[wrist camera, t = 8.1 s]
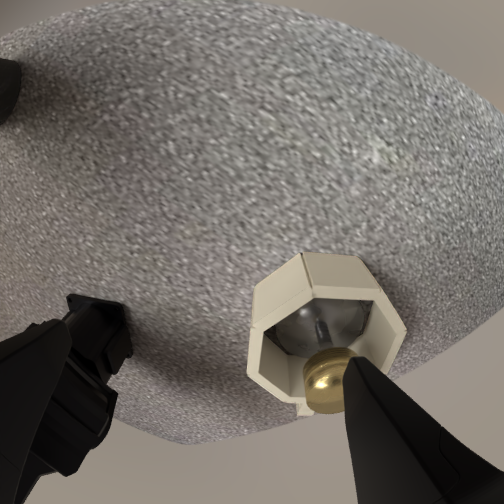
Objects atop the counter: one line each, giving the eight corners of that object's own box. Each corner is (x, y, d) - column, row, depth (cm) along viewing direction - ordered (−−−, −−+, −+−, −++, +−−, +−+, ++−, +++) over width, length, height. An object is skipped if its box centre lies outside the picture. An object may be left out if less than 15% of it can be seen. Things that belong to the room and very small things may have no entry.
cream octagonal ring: (245, 377, 25) (242, 417, 20) (257, 247, 20) (254, 280, 15) (352, 379, 25) (362, 416, 20) (394, 259, 20) (422, 290, 15)
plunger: (270, 350, 23) (271, 426, 15) (281, 278, 20) (288, 352, 13) (348, 352, 23) (370, 422, 15) (370, 284, 20) (411, 351, 13)
